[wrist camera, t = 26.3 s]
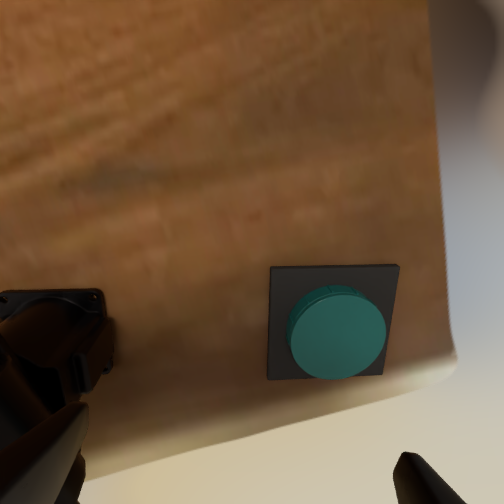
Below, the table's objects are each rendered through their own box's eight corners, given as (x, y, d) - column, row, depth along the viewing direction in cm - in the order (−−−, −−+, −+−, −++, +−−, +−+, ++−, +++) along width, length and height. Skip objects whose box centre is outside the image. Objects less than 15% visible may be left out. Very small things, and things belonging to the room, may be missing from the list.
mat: (266, 375, 24) (267, 380, 24) (270, 266, 22) (271, 269, 21) (379, 370, 25) (382, 375, 24) (396, 263, 22) (400, 266, 22)
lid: (335, 378, 24) (343, 394, 23) (267, 337, 23) (271, 352, 21) (393, 314, 23) (405, 327, 21) (325, 267, 21) (333, 276, 20)
